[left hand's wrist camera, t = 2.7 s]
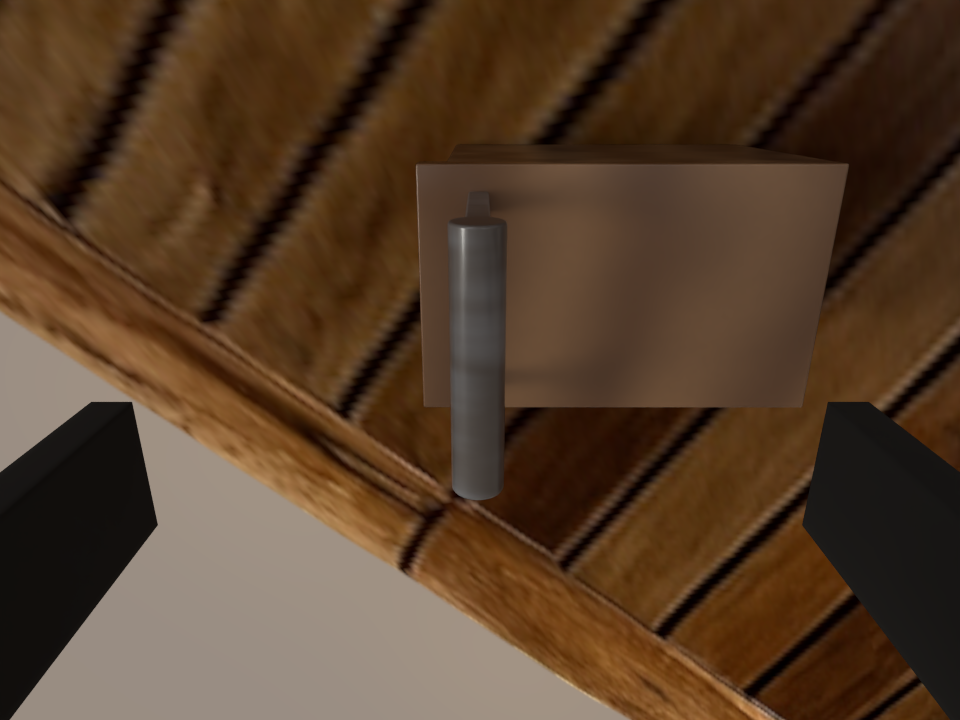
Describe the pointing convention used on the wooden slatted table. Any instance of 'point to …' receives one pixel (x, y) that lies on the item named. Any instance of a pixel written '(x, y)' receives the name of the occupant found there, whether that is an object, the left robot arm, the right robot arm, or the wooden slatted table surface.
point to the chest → (621, 153)
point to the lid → (616, 289)
